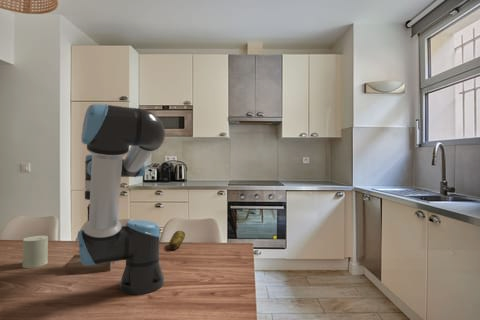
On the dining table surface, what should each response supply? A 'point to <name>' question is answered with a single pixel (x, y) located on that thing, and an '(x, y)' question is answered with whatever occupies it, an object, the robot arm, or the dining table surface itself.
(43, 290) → the dining table surface
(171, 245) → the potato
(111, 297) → the dining table surface
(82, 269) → the walnut block
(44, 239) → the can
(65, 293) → the dining table surface
